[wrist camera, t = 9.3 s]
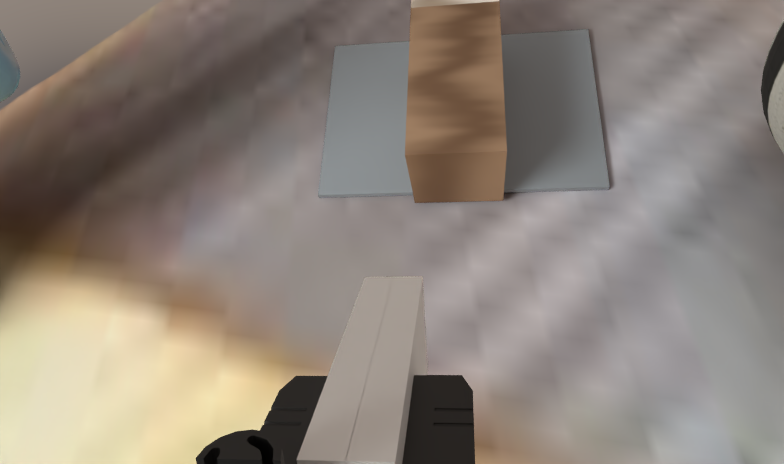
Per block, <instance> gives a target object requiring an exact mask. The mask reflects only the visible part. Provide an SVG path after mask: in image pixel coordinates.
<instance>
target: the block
mask: <svg viewBox="0 0 784 464" xmlns="http://www.w3.org/2000/svg"><path fill="white" fill-rule="evenodd" d="M506 157H507V142H506V122H505V102H504V82H503V62H502V42H501V22H500V2H499V0H411V17H410V41H409V65H408V90H407V114H406V138H405V158H406V163H407V168H408V172H409V177H410V182H411V186H412V191H413V196H414V201H415V203H426V202H463V201H501V200H503V196H504V183H505V170H506Z"/></svg>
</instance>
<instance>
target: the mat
mask: <svg viewBox="0 0 784 464" xmlns="http://www.w3.org/2000/svg"><path fill="white" fill-rule="evenodd" d="M501 42H502V62H503V82H504V102H505V122H506V142H507V157H506V170H505V183H504V193H509V192H545V191H581V190H609V187H610V186H609V178H608V171H607V164H606V156H605V149H604V142H603V134H602V127H601V120H600V112H599V105H598V98H597V90H596V83H595V76H594V68H593V61H592V54H591V46H590V39H589V32H588V29H582V30H567V31H552V32H537V33H522V34H507V35H501ZM408 65H409V41H403V42H388V43H373V44H358V45H343V46H335V52H334V61H333V70H332V78H331V87H330V96H329V104H328V113H327V122H326V130H325V139H324V148H323V156H322V165H321V174H320V182H319V191H318V196H319V198H330V197H366V196H402V195H413V191H412V186H411V182H410V177H409V172H408V168H407V163H406V158H405V138H406V114H407V90H408Z"/></svg>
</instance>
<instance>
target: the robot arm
mask: <svg viewBox="0 0 784 464" xmlns="http://www.w3.org/2000/svg"><path fill="white" fill-rule="evenodd" d="M19 80H20V68H19V64H18V62H17V59H16V57H15V54H14V52H13V51H12V49H11V47H10V45H9V43H8V41H7V40H6V38H5V36H4V35H3V33H2V32H1V30H0V102H2V101H4V100H5V99H7V98H8V97H10V96H11V95H12V94H13V93H14V91H15V90H16V89H17V87H18V84H19ZM427 371H428V363H427V345H426V327H425V309H424V290H423V276H407V277H365V278H364V281H363V283H362V286H361V289H360V291H359V294H358V297H357V299H356V302H355V305H354V307H353V310H352V313H351V315H350V318H349V321H348V323H347V326H346V329H345V331H344V334H343V337H342V339H341V342H340V345H339V347H338V350H337V353H336V355H335V358H334V361H333V363H332V366H331V369H330V371H329V374H328V376H296V377H294V378H293V379H292V380H291V381H290V382H289V383H288V384H286V385H285V386H284V387H283V388H282V389H281V390H280V391H279V393H278V395H277V397H276V399H275V401H274V403H273V405H272V407H271V411H269V413H268V415H267V417H266V419H265V421H264V422H265V423H264V425H263V426H262V428H261V430H260V431H257V430H246V431H237V432H234V433H231V434H228V435H225V436H223V437H220V438H218V439H217V440H215V441H214V442H212V443H211V444H209V445H208V446H206V447H205V448H204V449H203V451H202V452H201V453H200V454H199V455H198V456H197V457H196V461H197V464H475V449H474V418H473V391H472V389H471V388H470V386H469V385H468V383H467V382H466V381H465V379H464V378H463V376H462V375H427Z"/></svg>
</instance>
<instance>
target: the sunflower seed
mask: <svg viewBox="0 0 784 464" xmlns="http://www.w3.org/2000/svg"><path fill="white" fill-rule="evenodd" d="M761 94H762V103H763V110H764V115H765V117H766V120H767V123H768V125H769V128H770V131H771V133H772V136H773V137H774V139H775V141H776V142H777V144H778V146H779V147H780V149H781V151H782V152H783V154H784V20H783V22H782V24H781V25H780V27H779V29H778V31H777V33H776V36H775V38H774V40H773V42H772V45H771V47H770V49H769V53H768V56H767V59H766V62H765V66H764V71H763V78H762V86H761Z"/></svg>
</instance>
